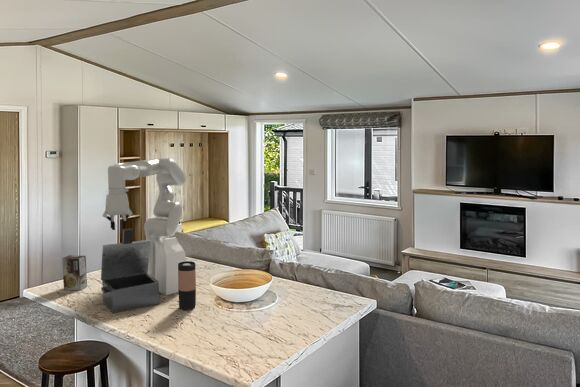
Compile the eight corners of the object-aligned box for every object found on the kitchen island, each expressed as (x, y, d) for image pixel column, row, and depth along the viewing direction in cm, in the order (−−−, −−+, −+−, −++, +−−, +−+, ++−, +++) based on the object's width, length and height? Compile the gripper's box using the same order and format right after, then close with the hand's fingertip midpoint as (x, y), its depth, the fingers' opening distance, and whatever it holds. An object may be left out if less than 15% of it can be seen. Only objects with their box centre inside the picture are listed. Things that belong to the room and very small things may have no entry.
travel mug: (180, 304, 203) (179, 261, 200) (197, 304, 203) (196, 261, 201) (177, 310, 195) (176, 265, 193) (195, 310, 196) (194, 265, 193)
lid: (147, 273, 216) (146, 271, 217) (152, 228, 207) (151, 226, 208) (101, 280, 204) (100, 278, 205) (104, 232, 195) (103, 231, 196)
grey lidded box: (150, 292, 219) (150, 272, 218) (163, 303, 204) (162, 281, 203) (98, 301, 205) (97, 280, 204) (108, 314, 190) (107, 291, 189)
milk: (175, 284, 232) (174, 234, 229) (187, 289, 224) (187, 238, 221) (154, 289, 223) (153, 238, 221) (166, 294, 215) (165, 241, 212)
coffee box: (87, 286, 227) (86, 255, 225) (80, 290, 220) (79, 258, 219) (70, 285, 228) (69, 254, 226) (63, 289, 221) (61, 257, 219)
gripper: (132, 189, 222) (133, 226, 224) (96, 191, 212) (98, 229, 214) (137, 191, 215) (138, 228, 217) (100, 193, 206) (101, 232, 208)
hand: (118, 228), depth 216 cm, fingers open, 3 cm apart
